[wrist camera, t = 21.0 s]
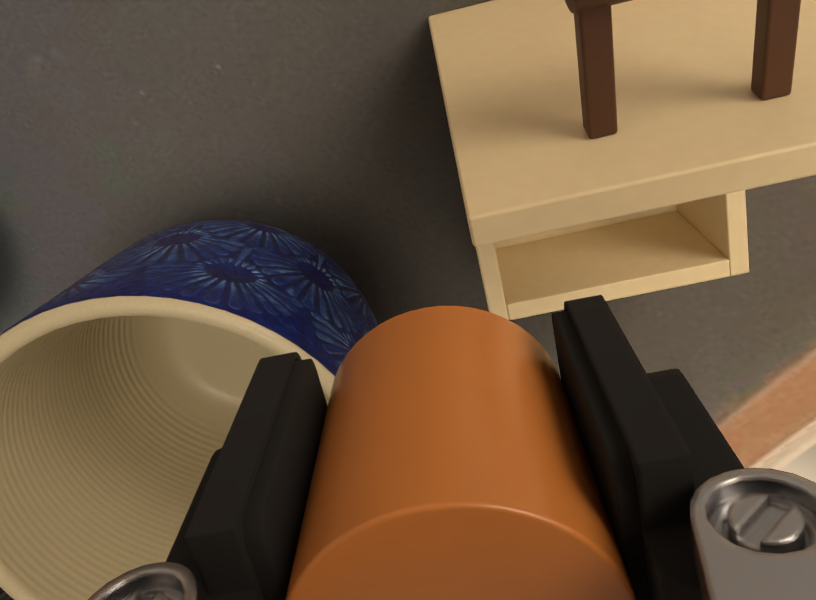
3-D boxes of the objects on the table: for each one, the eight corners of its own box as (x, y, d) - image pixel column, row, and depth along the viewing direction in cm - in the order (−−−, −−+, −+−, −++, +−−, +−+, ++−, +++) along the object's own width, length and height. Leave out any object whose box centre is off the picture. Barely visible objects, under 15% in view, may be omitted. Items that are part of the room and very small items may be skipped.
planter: (229, 108, 36) (109, 192, 22) (467, 325, 41) (491, 506, 27) (41, 327, 42) (-151, 506, 28) (272, 498, 46) (208, 725, 32)
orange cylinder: (549, 284, 10) (628, 477, 6) (575, 486, 12) (654, 748, 8) (303, 327, 11) (234, 535, 7) (358, 518, 12) (327, 785, 8)
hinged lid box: (688, 217, 38) (749, 272, 31) (478, 261, 39) (491, 324, 32) (667, -44, 33) (734, -48, 26) (428, 16, 34) (429, 27, 27)
